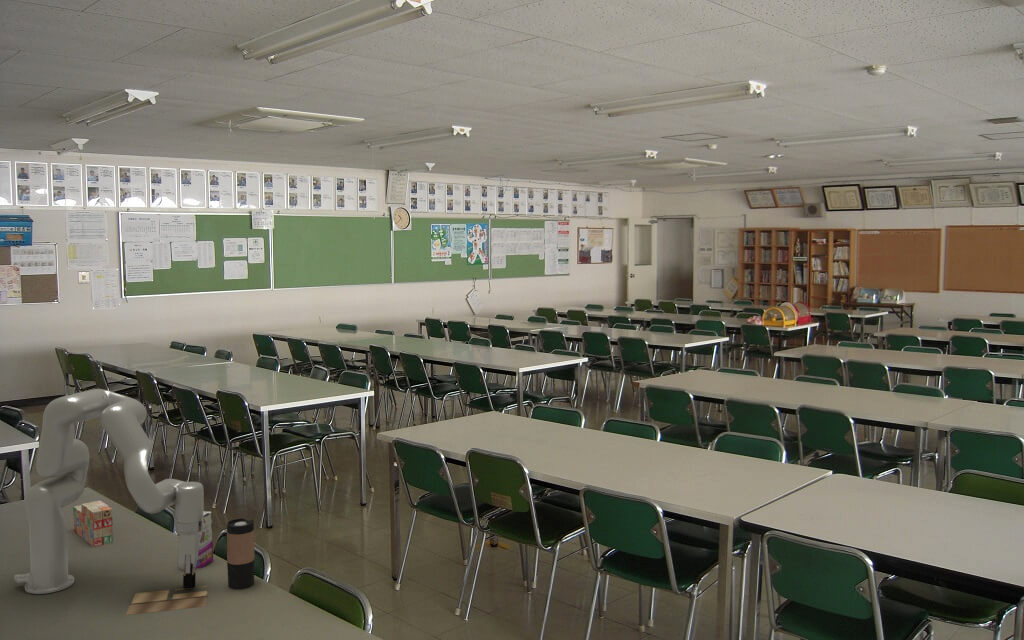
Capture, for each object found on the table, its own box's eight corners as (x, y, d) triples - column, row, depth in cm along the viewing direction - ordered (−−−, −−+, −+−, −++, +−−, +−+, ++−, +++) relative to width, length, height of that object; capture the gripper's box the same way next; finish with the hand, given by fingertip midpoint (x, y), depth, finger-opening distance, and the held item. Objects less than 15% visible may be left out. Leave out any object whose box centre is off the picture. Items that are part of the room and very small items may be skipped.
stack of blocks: (73, 531, 278) (72, 497, 277) (92, 527, 282) (92, 494, 281) (93, 547, 263) (92, 511, 262) (113, 543, 267) (112, 507, 266)
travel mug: (229, 595, 226) (228, 527, 225) (225, 585, 233) (224, 520, 231) (256, 590, 230) (256, 524, 228) (252, 581, 236) (251, 516, 235)
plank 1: (131, 607, 217) (131, 603, 217) (135, 597, 224) (135, 593, 224) (166, 603, 220) (166, 599, 220) (169, 593, 227) (169, 589, 227)
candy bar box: (199, 559, 253) (198, 510, 252) (213, 561, 252) (213, 511, 251) (178, 573, 242) (177, 521, 241) (192, 574, 241) (192, 522, 240)
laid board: (125, 619, 210) (125, 614, 210) (130, 608, 217) (130, 603, 217) (205, 610, 216) (205, 605, 216) (207, 599, 223) (207, 595, 223)
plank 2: (172, 603, 221) (172, 598, 220) (175, 593, 227) (174, 589, 227) (206, 599, 223) (206, 595, 223) (208, 590, 230) (208, 585, 230)
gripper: (178, 518, 232) (178, 578, 233) (172, 535, 217) (172, 599, 219) (205, 516, 234) (205, 576, 235) (201, 533, 220) (201, 596, 221)
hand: (189, 587), depth 227 cm, fingers closed
